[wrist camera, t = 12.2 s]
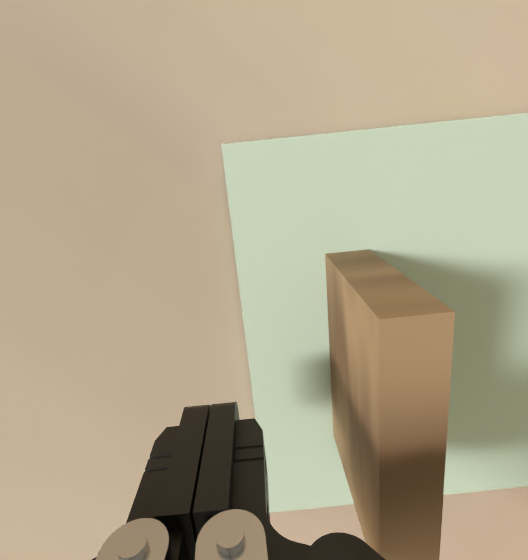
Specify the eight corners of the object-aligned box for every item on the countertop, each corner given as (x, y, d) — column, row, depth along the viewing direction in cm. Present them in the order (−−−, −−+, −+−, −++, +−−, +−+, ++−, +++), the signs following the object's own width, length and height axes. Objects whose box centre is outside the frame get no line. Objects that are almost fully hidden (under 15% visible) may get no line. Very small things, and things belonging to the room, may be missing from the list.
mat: (222, 145, 13) (221, 144, 12) (624, 103, 13) (642, 100, 12) (266, 501, 18) (267, 513, 17) (559, 471, 18) (570, 481, 17)
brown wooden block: (325, 253, 13) (379, 319, 8) (368, 249, 13) (455, 312, 8) (333, 435, 16) (379, 588, 10) (370, 431, 16) (437, 582, 10)
